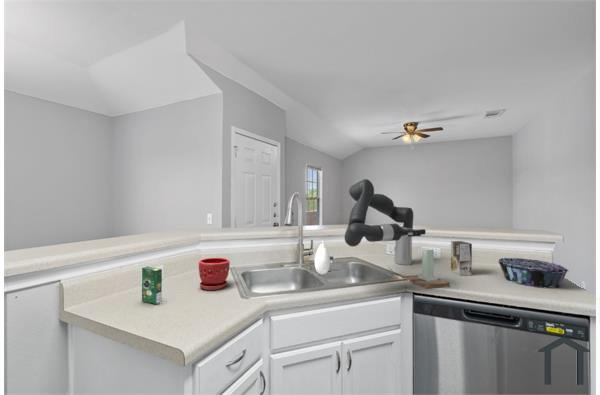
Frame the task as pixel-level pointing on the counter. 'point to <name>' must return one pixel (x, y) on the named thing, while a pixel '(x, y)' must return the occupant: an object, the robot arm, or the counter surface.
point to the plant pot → (213, 273)
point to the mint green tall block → (427, 265)
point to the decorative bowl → (532, 272)
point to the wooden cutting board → (426, 282)
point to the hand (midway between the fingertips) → (418, 230)
